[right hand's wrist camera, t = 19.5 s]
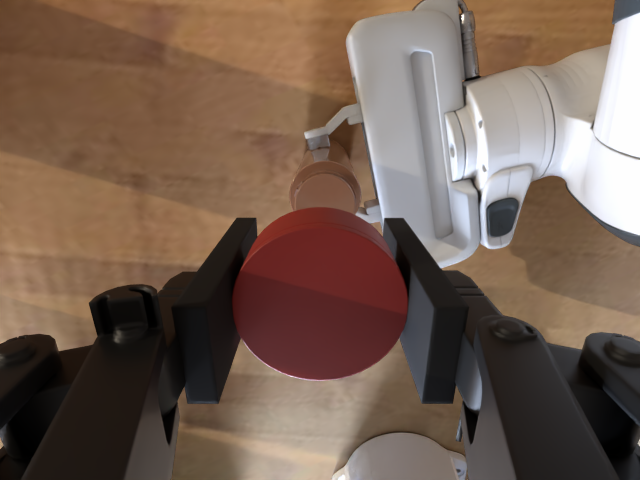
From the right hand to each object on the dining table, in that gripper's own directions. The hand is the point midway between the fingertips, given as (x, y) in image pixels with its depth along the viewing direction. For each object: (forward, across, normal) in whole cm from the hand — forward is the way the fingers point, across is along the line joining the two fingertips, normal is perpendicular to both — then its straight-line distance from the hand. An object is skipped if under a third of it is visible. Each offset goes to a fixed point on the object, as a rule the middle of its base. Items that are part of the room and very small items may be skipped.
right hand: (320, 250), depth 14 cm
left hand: (+17, 0, 0) cm, 17 cm away
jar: (+23, +1, 0) cm, 23 cm away
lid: (-4, 0, 0) cm, 4 cm away
